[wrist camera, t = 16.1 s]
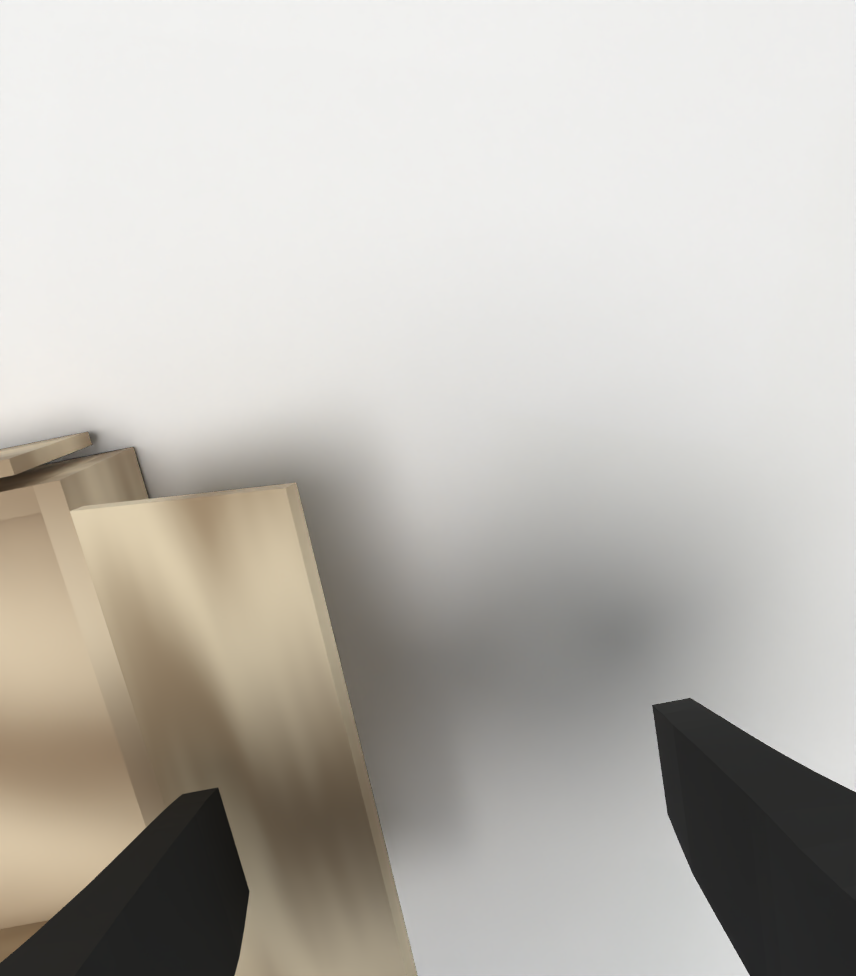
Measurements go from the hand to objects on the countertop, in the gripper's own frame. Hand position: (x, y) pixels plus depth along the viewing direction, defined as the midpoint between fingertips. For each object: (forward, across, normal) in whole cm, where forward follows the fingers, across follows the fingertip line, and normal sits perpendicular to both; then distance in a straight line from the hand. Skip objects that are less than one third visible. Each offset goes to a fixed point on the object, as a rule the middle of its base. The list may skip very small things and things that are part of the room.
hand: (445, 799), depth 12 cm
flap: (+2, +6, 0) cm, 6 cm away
